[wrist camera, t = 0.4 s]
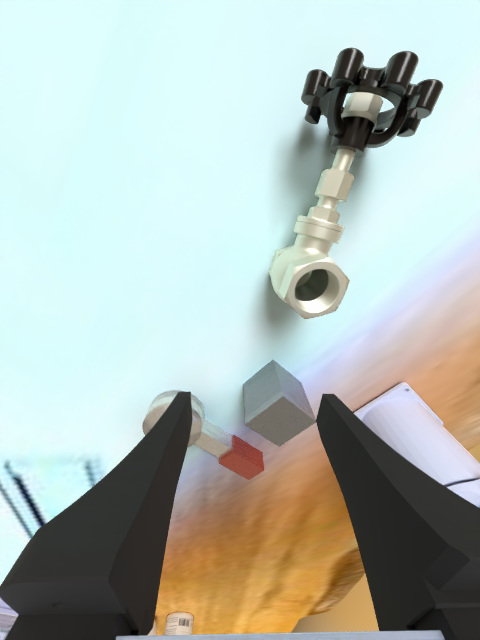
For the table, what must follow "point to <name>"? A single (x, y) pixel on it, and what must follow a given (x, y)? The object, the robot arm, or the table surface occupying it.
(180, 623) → the cosmetic set
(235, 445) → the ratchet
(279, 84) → the table surface
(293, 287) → the valve
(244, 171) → the table surface
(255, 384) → the brushed metal block
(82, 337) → the table surface
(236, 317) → the table surface
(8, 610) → the gaming console
